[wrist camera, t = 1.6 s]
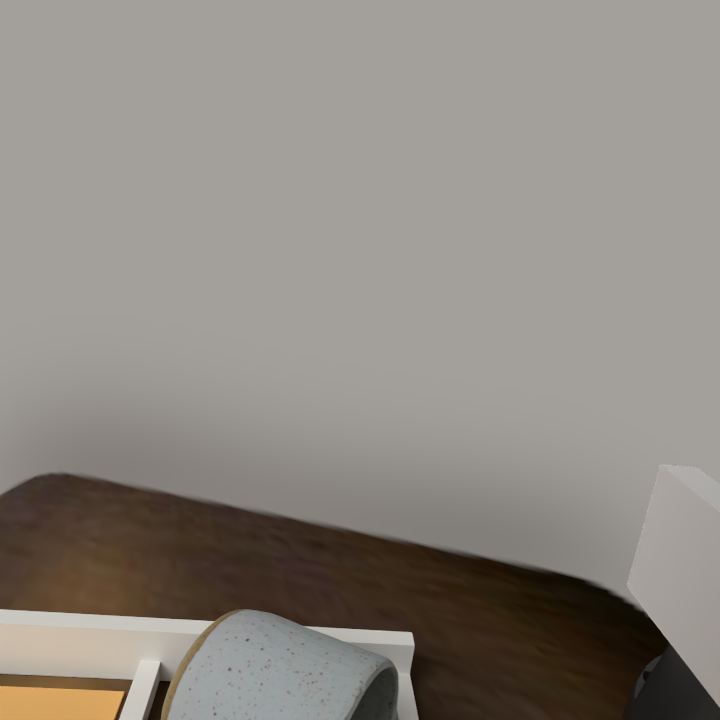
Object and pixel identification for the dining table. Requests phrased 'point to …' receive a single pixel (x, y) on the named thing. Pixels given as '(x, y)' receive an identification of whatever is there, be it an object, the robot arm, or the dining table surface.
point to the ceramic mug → (278, 675)
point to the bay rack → (132, 661)
